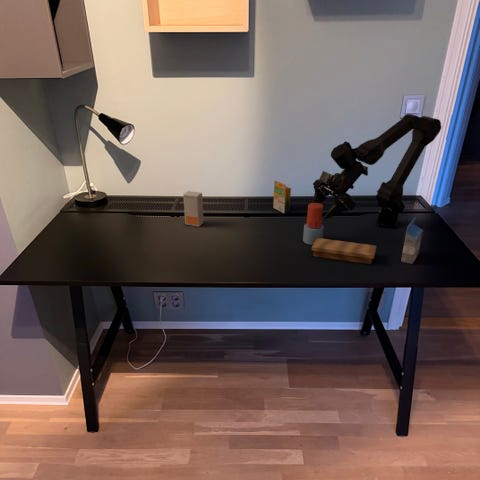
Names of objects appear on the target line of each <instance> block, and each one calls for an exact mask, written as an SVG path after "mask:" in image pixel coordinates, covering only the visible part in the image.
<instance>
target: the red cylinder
mask: <svg viewBox="0 0 480 480" xmlns="http://www.w3.org/2000/svg"><path fill="white" fill-rule="evenodd" d="M323 213H324V204H322V203H311V202H310V203H309V204H308V205H307V216H306V223H305V224H306V225H307V226H308V227H311V228H318V227H321V225H323V224H322V223H323Z"/></svg>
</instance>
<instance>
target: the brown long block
mask: <svg viewBox="0 0 480 480" xmlns="http://www.w3.org/2000/svg"><path fill="white" fill-rule="evenodd" d="M377 246H378V245H374V244H367V243H358V242H351V241H345V240H344V241H343V240H336V239H328V238H323V239H321V238H316V240H315V242H314V244H313V245H312V246H311V251H313V253H312V254H313V257H315V258H316V257H317V258H324V259H331V260H338V261H345V262H352V263H358V264H365V265H366V264H367V265H372V261H373V260H374V259H375V256H376V251H377Z"/></svg>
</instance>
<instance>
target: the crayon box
mask: <svg viewBox="0 0 480 480" xmlns="http://www.w3.org/2000/svg"><path fill="white" fill-rule="evenodd" d="M273 182H274V183H273V185H274V186H273V205H272V207H273V208H272V209H274V210H276V211H279V212H280V213H282V214H288V213H290V211H291V210H290V209H291V195H292V194H291V193H292V188H291V187H289V186H287V184H285V183H283V182H281V181H277V180H274V181H273Z"/></svg>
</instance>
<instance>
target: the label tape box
mask: <svg viewBox="0 0 480 480" xmlns="http://www.w3.org/2000/svg"><path fill="white" fill-rule="evenodd" d="M416 219H417V217H416V216H415V217H414V218H413V219H412V220H411V221H410V223H409V224H408V225H407V228H406V232H405V237H404V242H403V246H402V247H403V248H402V253H401V260H400V262H402V263H406V264H411V265H413V264H414V263H415V260H416V259H417V257H418V256H419V255H420V251H421V246H422V242H423V236H424V229H422V228H420V227H419V226H417V225H416V224H415V221H416Z"/></svg>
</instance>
